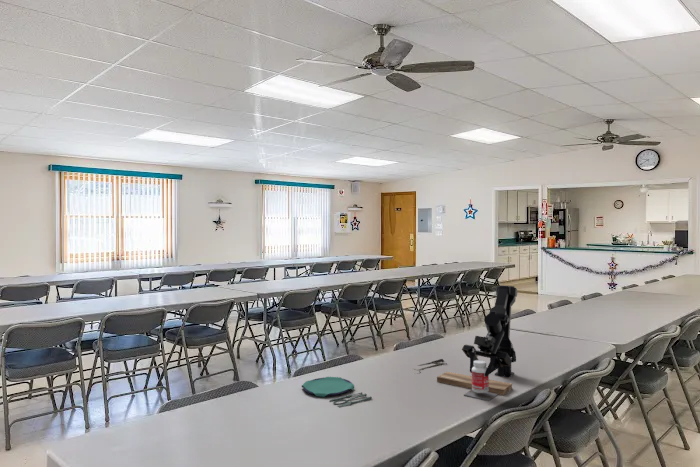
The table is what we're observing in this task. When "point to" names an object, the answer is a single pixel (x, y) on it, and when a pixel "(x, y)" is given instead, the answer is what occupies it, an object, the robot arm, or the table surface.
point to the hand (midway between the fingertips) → (477, 374)
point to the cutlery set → (332, 389)
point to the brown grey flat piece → (466, 382)
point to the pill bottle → (480, 377)
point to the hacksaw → (432, 365)
